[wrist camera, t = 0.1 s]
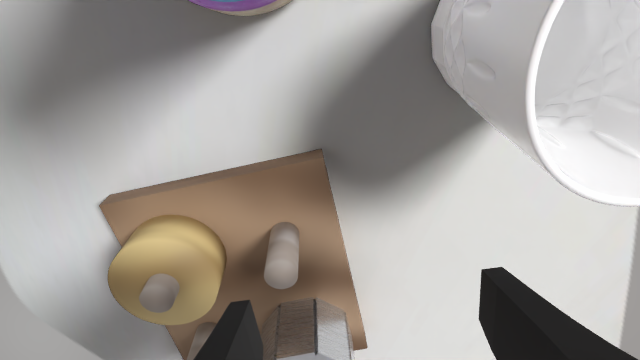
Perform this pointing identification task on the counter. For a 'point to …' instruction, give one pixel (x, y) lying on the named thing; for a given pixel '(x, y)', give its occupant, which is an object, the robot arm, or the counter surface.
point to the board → (230, 247)
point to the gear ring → (307, 332)
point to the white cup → (553, 84)
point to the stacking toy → (242, 6)
